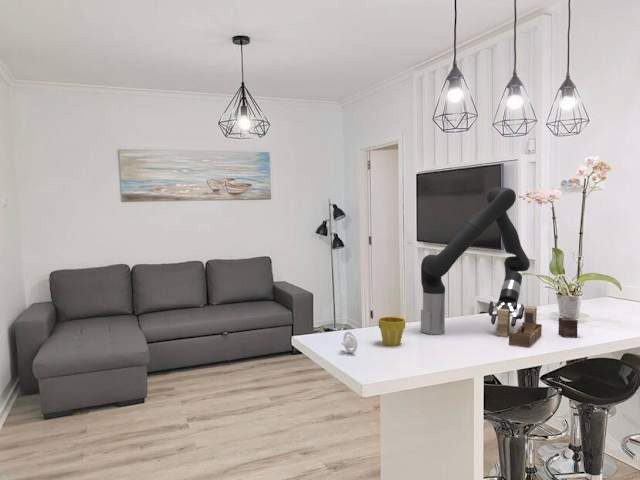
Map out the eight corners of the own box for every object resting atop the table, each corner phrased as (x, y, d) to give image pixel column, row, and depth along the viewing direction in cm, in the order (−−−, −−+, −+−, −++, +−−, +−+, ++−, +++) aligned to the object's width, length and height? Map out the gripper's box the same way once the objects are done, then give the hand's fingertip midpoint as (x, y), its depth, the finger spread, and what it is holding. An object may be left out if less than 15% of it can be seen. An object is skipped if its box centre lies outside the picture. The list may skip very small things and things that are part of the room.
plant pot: (402, 348, 194) (402, 322, 194) (375, 345, 198) (375, 320, 197) (407, 341, 204) (407, 317, 203) (381, 339, 208) (382, 315, 207)
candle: (525, 314, 257) (526, 265, 255) (522, 317, 251) (523, 266, 249) (510, 313, 261) (511, 264, 259) (507, 315, 255) (508, 265, 253)
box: (577, 338, 210) (578, 320, 210) (561, 337, 211) (562, 319, 211) (573, 334, 216) (573, 317, 216) (558, 333, 217) (558, 316, 217)
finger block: (507, 337, 211) (507, 311, 210) (497, 336, 213) (497, 310, 213) (509, 335, 215) (510, 309, 214) (499, 334, 217) (500, 308, 216)
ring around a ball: (360, 354, 186) (360, 332, 185) (348, 357, 183) (348, 334, 182) (347, 349, 192) (347, 328, 192) (335, 352, 189) (335, 330, 189)
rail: (529, 347, 195) (530, 316, 194) (508, 344, 199) (509, 314, 198) (541, 335, 215) (542, 306, 214) (522, 332, 219) (523, 304, 218)
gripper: (491, 286, 223) (483, 317, 214) (526, 289, 215) (519, 321, 206) (494, 296, 228) (486, 327, 219) (528, 299, 220) (522, 332, 211)
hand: (502, 324), depth 212 cm, fingers open, 7 cm apart
